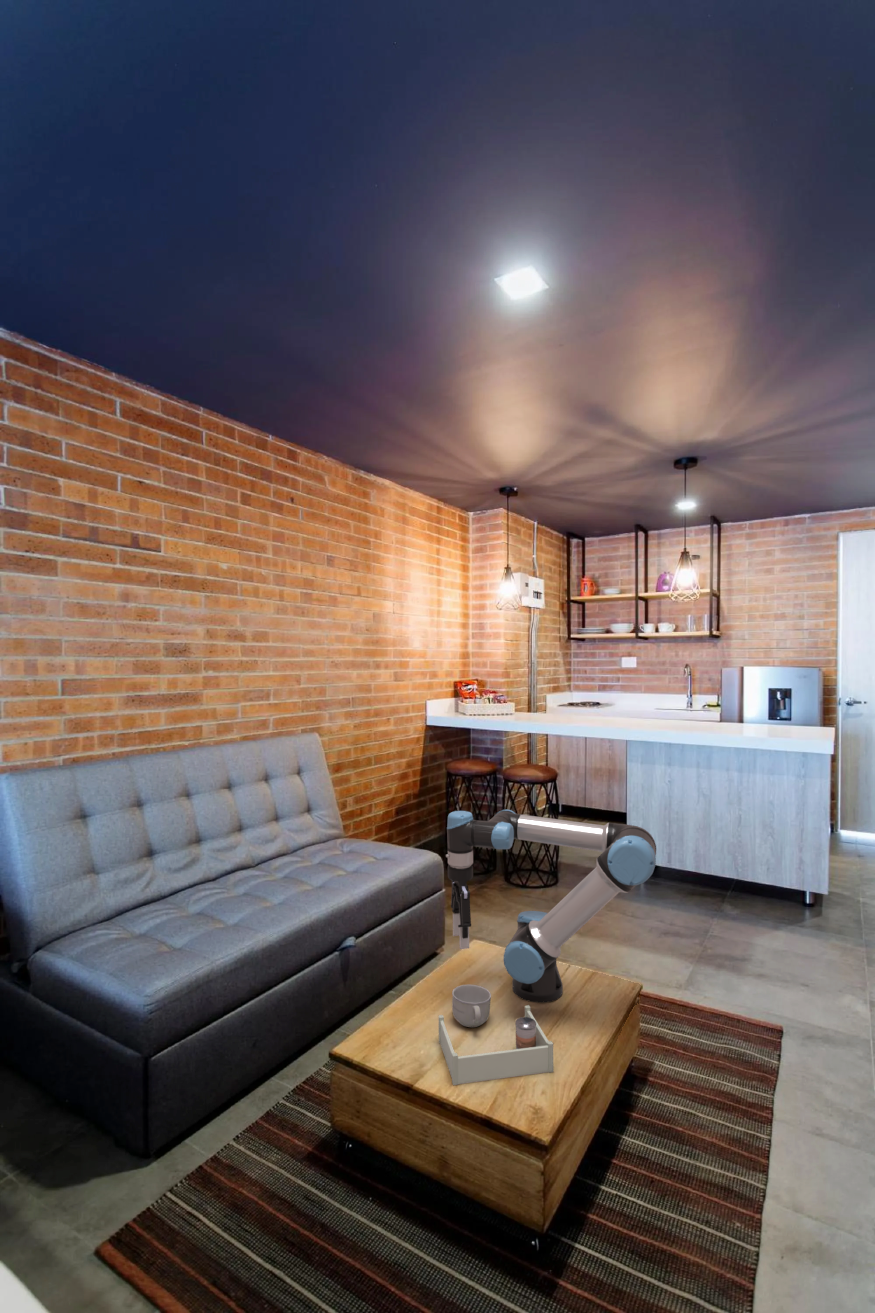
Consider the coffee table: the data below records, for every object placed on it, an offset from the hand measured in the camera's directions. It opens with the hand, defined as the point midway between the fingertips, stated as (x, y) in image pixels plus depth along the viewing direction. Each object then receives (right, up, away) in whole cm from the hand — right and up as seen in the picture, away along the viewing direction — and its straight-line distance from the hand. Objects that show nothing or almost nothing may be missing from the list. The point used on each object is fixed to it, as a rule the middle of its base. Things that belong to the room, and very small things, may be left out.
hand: (460, 941), depth 190 cm
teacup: (+3, -17, -13) cm, 22 cm away
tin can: (+16, -17, -27) cm, 35 cm away
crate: (+7, -17, -27) cm, 33 cm away
